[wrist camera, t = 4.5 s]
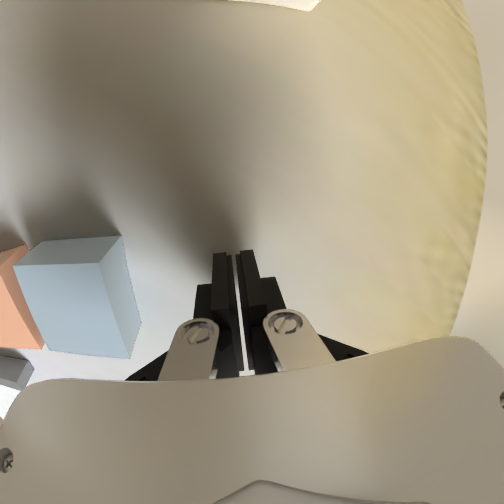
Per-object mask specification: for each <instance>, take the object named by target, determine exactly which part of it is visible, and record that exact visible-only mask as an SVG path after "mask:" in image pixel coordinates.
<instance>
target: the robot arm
mask: <svg viewBox="0 0 504 504" xmlns="http://www.w3.org/2000/svg"><path fill="white" fill-rule="evenodd" d="M236 265H237V274H238V284H239V293H240V302H241V311H242V319H243V327H244V335H245V343H246V351H247V359H248V367H249V370H255V375H250V376H241V377H239V371H244V363H243V354H242V345H241V336H240V327H239V317H238V308H237V300H236V291H235V283H234V274H233V265H232V256H231V255H228V256H227V255H226V252H224V253H215V254H213V269H212V284H202V285H197V292H196V300H195V308H194V317H193V319H192V320H188V321H187V322H185V323H183V324H182V325H180V326H179V327H178V329H177V331H176V333H175V335H174V338H173V340H172V343H171V346H170V348H169V350H168V351H167V352H165V353H164V354H162V355H161V356H159V357H158V358H156V359H155V360H153V361H152V362H150V363H149V364H147V365H146V366H144V367H143V368H141V369H140V370H138V371H137V372H135V373H134V374H132V375H131V376H129V377H128V378H127V379H126V380H125V381H117V380H96V379H77V378H60V379H51V380H45V381H41V382H37V383H34V384H31V385H29V386H27V387H25V388H24V389H23V390H21V392H20V393H19V394H18V395H17V397H16V398H15V400H14V401H13V403H12V404H11V406H10V408H9V410H8V412H7V414H6V416H5V418H4V420H3V422H2V425H1V427H0V504H504V369H503V367H502V366H501V365H500V364H499V363H498V362H497V360H496V359H495V358H494V357H493V356H492V355H491V354H490V353H489V352H488V351H487V350H486V349H485V348H484V347H482V346H481V345H480V344H479V343H477V342H476V341H474V340H472V339H469V338H466V337H458V336H441V337H433V338H427V339H423V340H418V341H414V342H411V343H407V344H404V345H400V346H396V347H392V348H388V349H385V350H381V351H378V352H374V353H370V354H368V353H366V352H364V351H362V350H359V349H357V348H354V347H351V346H348V345H346V344H343V343H340V342H338V341H335V340H332V339H330V338H327V337H324V336H322V335H319V334H317V333H316V331H315V330H314V328H313V327H312V325H311V324H310V322H309V321H308V320H307V318H306V317H305V316H304V315H303V314H302V313H300V312H298V311H295V310H291V309H286V306H285V303H284V301H283V298H282V295H281V292H280V289H279V286H278V283H277V281H276V278H275V277H268V278H260V275H259V271H258V267H257V264H256V260H255V256H254V252H253V250H243V251H240V254H237V255H236Z"/></svg>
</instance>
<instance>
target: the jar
mask: <svg viewBox="0 0 504 504" xmlns="http://www.w3.org/2000/svg"><path fill="white" fill-rule="evenodd" d="M230 1H243V2H253V3H261V4H269V5H275V6H281V7H287V8H292V9H297V10H302V11H310V10H312V9H313V8H314V7H315V6H316V5H317V4H318V3H319V2H321V1H322V0H230Z"/></svg>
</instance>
